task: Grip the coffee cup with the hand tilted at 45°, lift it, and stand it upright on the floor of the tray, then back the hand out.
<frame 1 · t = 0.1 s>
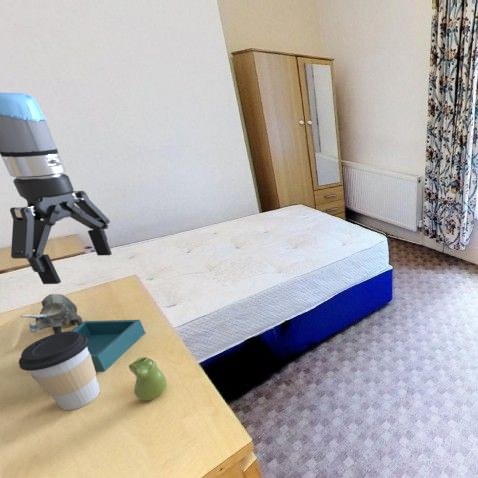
hand: (80, 267, 73), 24 cm above the table, tool pointing down, fingers open, 13 cm apart
tray: (97, 351, 81), on the table
coffee cup: (82, 399, 69), on the table
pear: (154, 395, 70), on the table
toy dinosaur: (68, 327, 89), on the table
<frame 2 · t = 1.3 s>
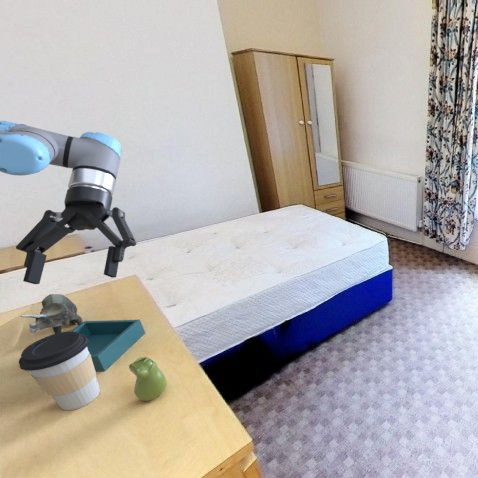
hand: (71, 279, 69), 24 cm above the table, tool tilted 45°, fingers open, 13 cm apart
nothing on the table moved.
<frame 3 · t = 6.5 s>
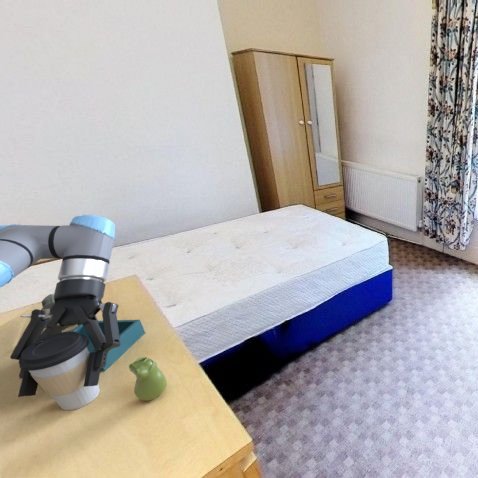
hand: (59, 390, 64), 6 cm above the table, tool tilted 45°, fingers closed on coffee cup, 9 cm apart
coffee cup: (82, 399, 69), on the table, touching gripper
everything else where it was.
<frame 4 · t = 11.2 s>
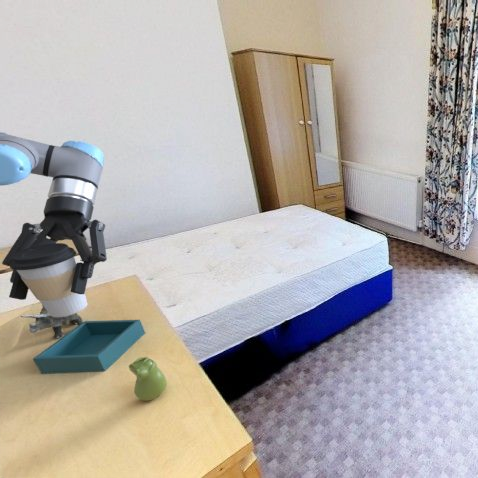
hand: (48, 295, 68), 21 cm above the table, tool tilted 45°, fingers closed on coffee cup, 9 cm apart
coffee cup: (70, 310, 73), point 15 cm above the table, touching gripper
everything else where it was.
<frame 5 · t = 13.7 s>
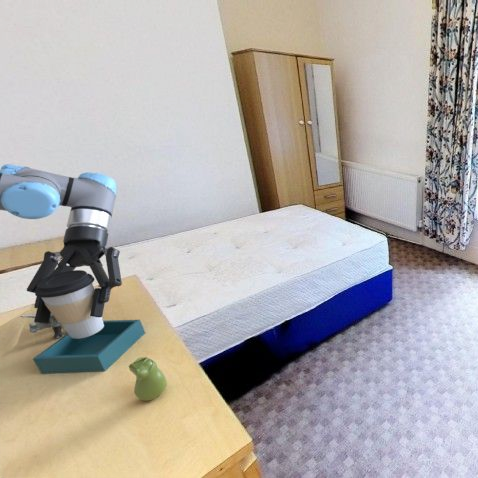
hand: (69, 319, 74), 12 cm above the table, tool tilted 45°, fingers closed on coffee cup, 9 cm apart
coffee cup: (88, 331, 79), point 6 cm above the table, touching gripper
everything else where it was.
when the fingers open (6 cm above the table, at t = 15.9 s): coffee cup stays where it is, resting on tray.
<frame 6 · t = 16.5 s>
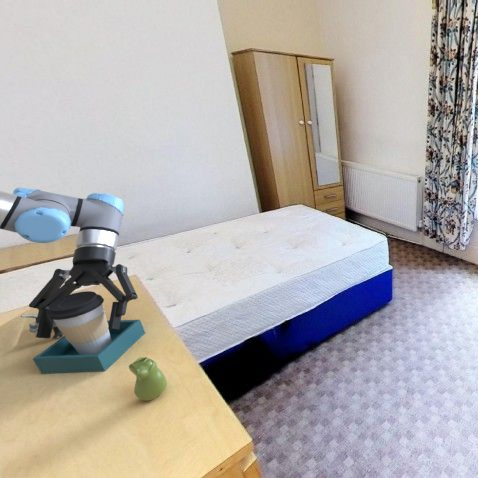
hand: (79, 333, 76), 8 cm above the table, tool tilted 45°, fingers open, 13 cm apart
coffee cup: (97, 350, 81), resting on tray
everything else where it was.
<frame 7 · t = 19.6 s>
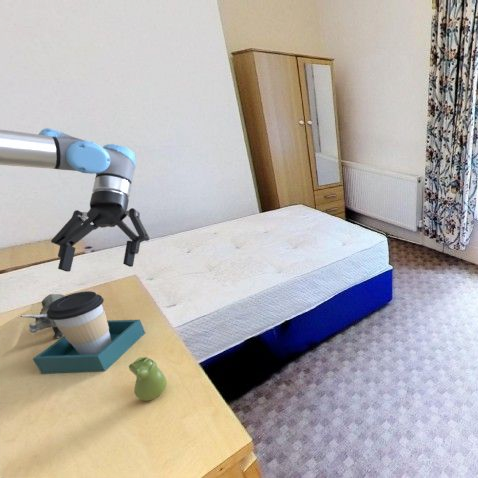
hand: (96, 267, 83), 19 cm above the table, tool tilted 45°, fingers open, 13 cm apart
nothing on the table moved.
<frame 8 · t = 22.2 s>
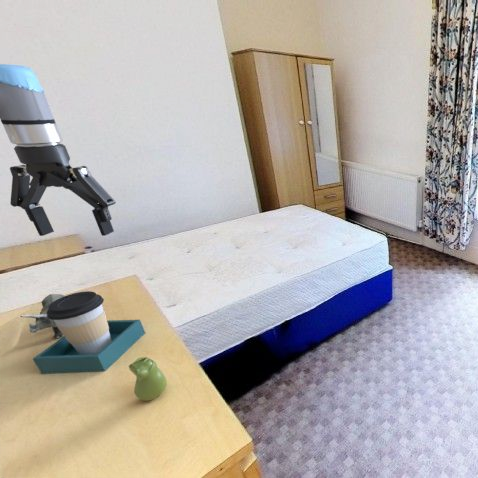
hand: (77, 233, 78), 29 cm above the table, tool pointing down, fingers open, 13 cm apart
nothing on the table moved.
at the end: coffee cup 0.1 cm off-centre in the tray, point 0.4 cm above the tray's base; coffee cup tilted 0°; the gripper is holding nothing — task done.
